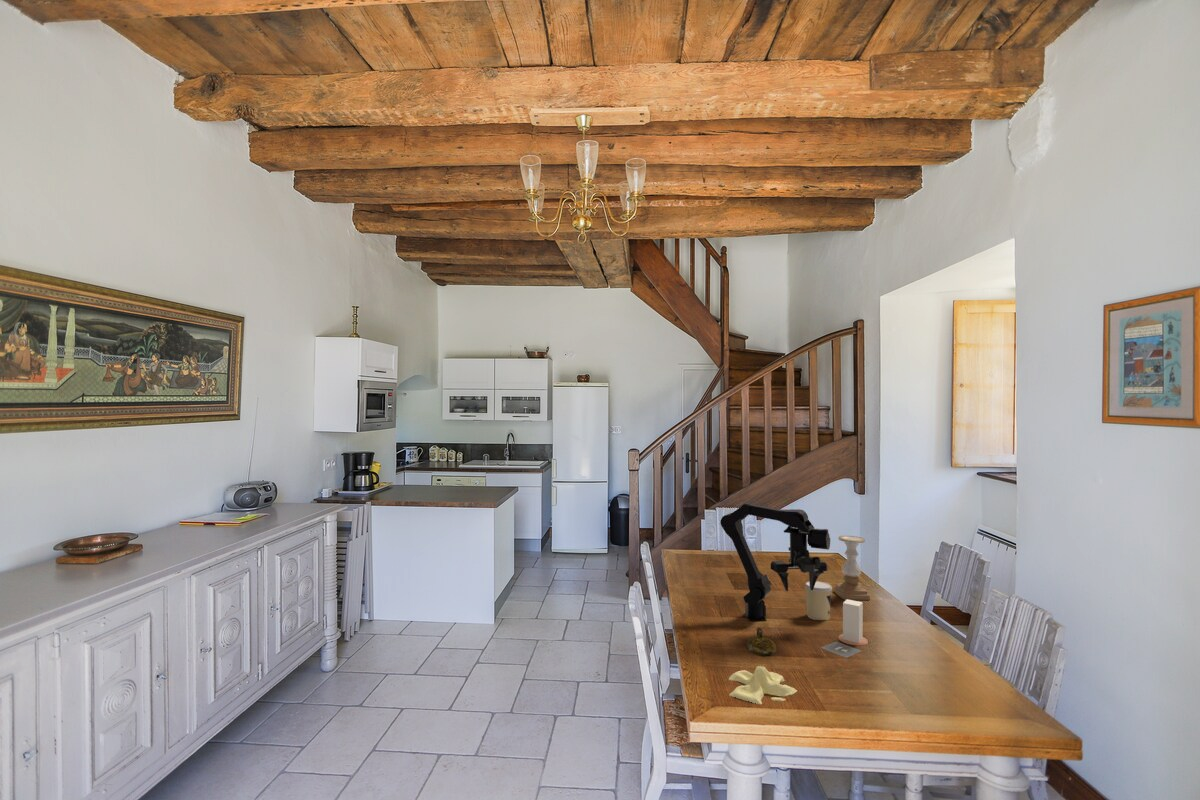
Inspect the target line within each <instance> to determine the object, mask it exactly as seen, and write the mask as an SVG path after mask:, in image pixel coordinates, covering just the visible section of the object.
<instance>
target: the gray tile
mask: <svg viewBox="0 0 1200 800" xmlns="http://www.w3.org/2000/svg"><path fill="white" fill-rule="evenodd" d="M820 649H822V650H826V651H828V652H829V653H833V654H835V655H838V656H841V657H843V658H846V659H847V658H849V657H851V656H854V655H856V654H859V653H861V652H862V650H861V649H858V648H855V647H853V646H850V645H848V644H846V643H845V644H844V643H843V642H839V641H834V642H831V643H829V644H826V645H823V646H821V647H820Z"/></svg>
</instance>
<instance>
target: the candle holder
mask: <svg viewBox="0 0 1200 800" xmlns="http://www.w3.org/2000/svg"><path fill="white" fill-rule="evenodd" d="M838 540H839V541H841V542H842V543H844V545H845V546H846V550H845V552H844V554H845V556H846V558H847V559H846V561H845V562H844V564H843V565H842V567H841V571H842V573H843V574H844V576H843V580H844V582H843V583H836V584H835V586H834V587H833V593H835V594H836V596H838V597H839V598H840V599H842V600H844V601H846V600H847V599H848V600H853V601H870V600H871V595H870V593H868V591H867V589H865V588H864V587H862V585H860V584H859V582H860V578H859V576H860V575H861V573H862V568H861V567H860V565H859V564H858V561H857V557H858V556H859V552H858V551H857V547H858V546H859V545H860V544H862V543H865V542H866V539H865V538H863V537H861V536H855V535H839V536H838Z"/></svg>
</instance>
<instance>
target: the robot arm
mask: <svg viewBox="0 0 1200 800" xmlns="http://www.w3.org/2000/svg"><path fill="white" fill-rule="evenodd" d="M748 516H754V517H758V518H764V519H768V520H774V521H777V522H780V523H782V524H784V525H786V526H787V527H786V528H785V529H784V530H783V533H787V534H789V547H788V551H789V558H788V563H786V562H784V561H782V560H772V561H771V563H770V569H771V570H772V571H773V572H775V573H776V574H777V575H778V576H779V578H780V580H781V582H782V583H781V584H782V585H783V587H784V590H785V591H786V592H788V591H789V581H788V580H789V579H788V577H789V572H788V571H789V570H796V569H797V570H800V572H801V573H808V578H809V581H808V582H810V590H813V588H814V586H815V583H816V581H818V578H819V576H820V575H822V574H825V572H828V564H827V562H825V561H823V560H821V558H820V557H819V556H810V551H809V550H808V546H810V548H812V549H820V550H830V547H831V536H830V534H829V529H827V528H815V527H814V525H813V524H812V521H810V520H809V516H808V514H807V513H806V511H805V510H803V509H798V508H797V509H793V508H791V509H789V508H788V509H780V508H774V507H770V506H765V505H758V504H754V503H751V502H747V503H744V504H742V505H741V506H740V507H738V508H737V509H736V510H734V511H733V512H729V513H727V514H725V515H723V516H722V517H721V519H720V526H721V528H722V529H723V531H724V533H725V534H726V535H727V536H728V537H729V538H730V539H731V540H732V541H731V542H732V543H733V545H734V548H735V551H736V552H737V555H738V557H739V560H740V562H741V565H742V566H743V569H744V572H745V573H746V575H747V586H748V591H749V592H747V593H746V594H745V595H744V596H743V600H744V601H743V602H744V603H745V605H744V606H745V607H744V608H745V612H744V613H743V616H745V618H746V619H747V620H748V621H757V622H758V621H767V618H766V617H767V606H766V604H765V601H764V600H765V599H766V597H767V596H768V595H769V594H771V593H770V592H772V591H771V590H772V588H771V585H772V583H771V581H770V580H769V576H768V574H767V573H765V574H762V573H761V572H760V570H759V568H758V565H757V564H756V561H755V559H754V556H753V555H752V552H751V549H750V547H749V545H748V542H747V540H746V538H745V535H744V527H743V522H742V521H743V520H745V518H747V517H748Z"/></svg>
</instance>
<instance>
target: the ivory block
mask: <svg viewBox="0 0 1200 800" xmlns="http://www.w3.org/2000/svg"><path fill="white" fill-rule="evenodd" d="M863 604H864V603H863V602H862V601H860V600H848V599H847V600H844V601H843V603H842V634H843V639H844V640H848V641H852V642H856V643H859V642H860V641H861V640H862V638H863V637H864V636H863V634H864V633H863V629H864V627H863V623H864V621H863V619H864V618H863V617H864V616H863V615H864V613H863V609H864V608H863V607H864V605H863Z"/></svg>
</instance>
